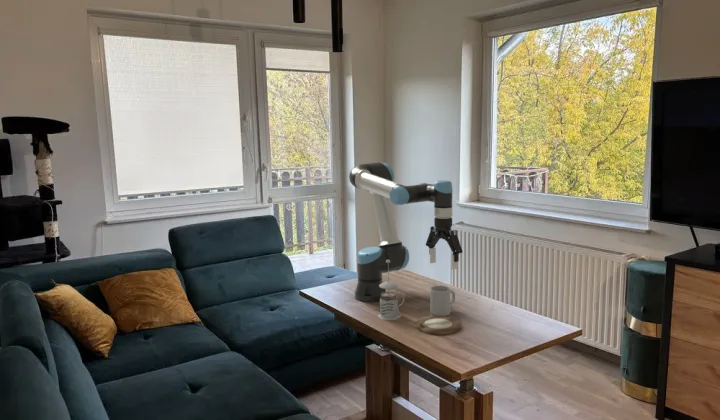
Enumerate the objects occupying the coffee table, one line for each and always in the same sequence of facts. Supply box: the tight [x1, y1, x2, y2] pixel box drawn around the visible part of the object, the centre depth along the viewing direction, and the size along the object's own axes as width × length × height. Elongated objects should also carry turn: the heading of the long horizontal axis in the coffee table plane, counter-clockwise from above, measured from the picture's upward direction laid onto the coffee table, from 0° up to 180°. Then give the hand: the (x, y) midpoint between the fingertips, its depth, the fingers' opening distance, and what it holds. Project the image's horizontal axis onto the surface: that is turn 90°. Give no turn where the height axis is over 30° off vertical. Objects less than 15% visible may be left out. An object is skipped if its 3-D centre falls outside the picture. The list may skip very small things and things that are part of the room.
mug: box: [429, 285, 456, 316], centre depth 227 cm, size 12×8×11 cm
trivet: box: [415, 315, 462, 336], centre depth 212 cm, size 18×18×3 cm
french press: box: [377, 260, 405, 321], centre depth 223 cm, size 10×12×25 cm
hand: (443, 265), depth 225 cm, fingers open, 13 cm apart
